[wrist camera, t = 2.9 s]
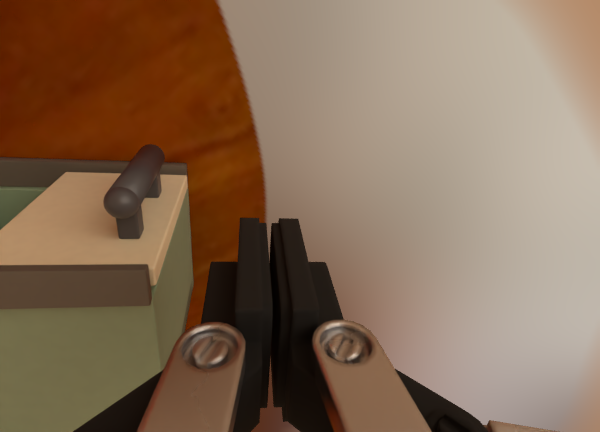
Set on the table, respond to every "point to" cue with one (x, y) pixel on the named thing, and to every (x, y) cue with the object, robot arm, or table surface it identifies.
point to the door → (100, 218)
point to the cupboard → (82, 315)
